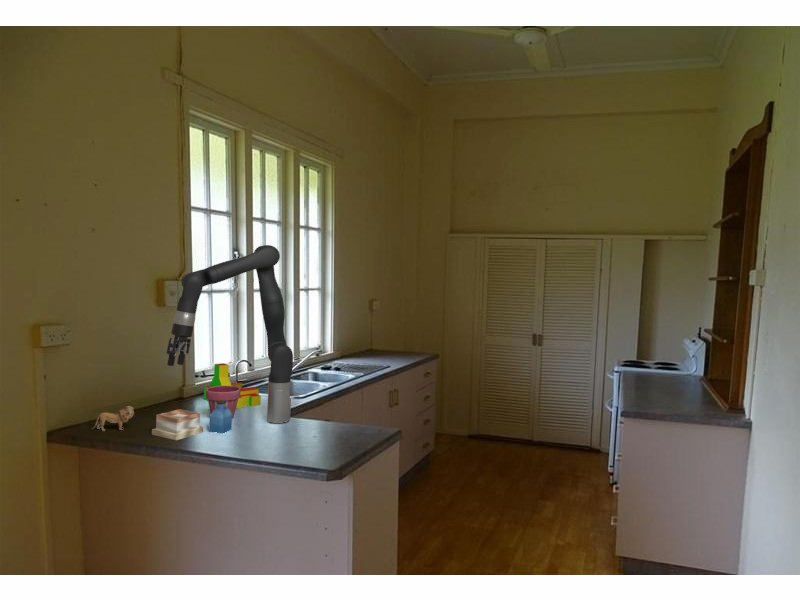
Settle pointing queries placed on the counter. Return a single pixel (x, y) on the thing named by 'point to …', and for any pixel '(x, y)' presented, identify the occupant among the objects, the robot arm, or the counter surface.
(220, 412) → the perfume bottle
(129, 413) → the lion figurine
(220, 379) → the building blocks toy
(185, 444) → the counter surface
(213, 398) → the plant pot
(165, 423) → the pedestal
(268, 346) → the robot arm
